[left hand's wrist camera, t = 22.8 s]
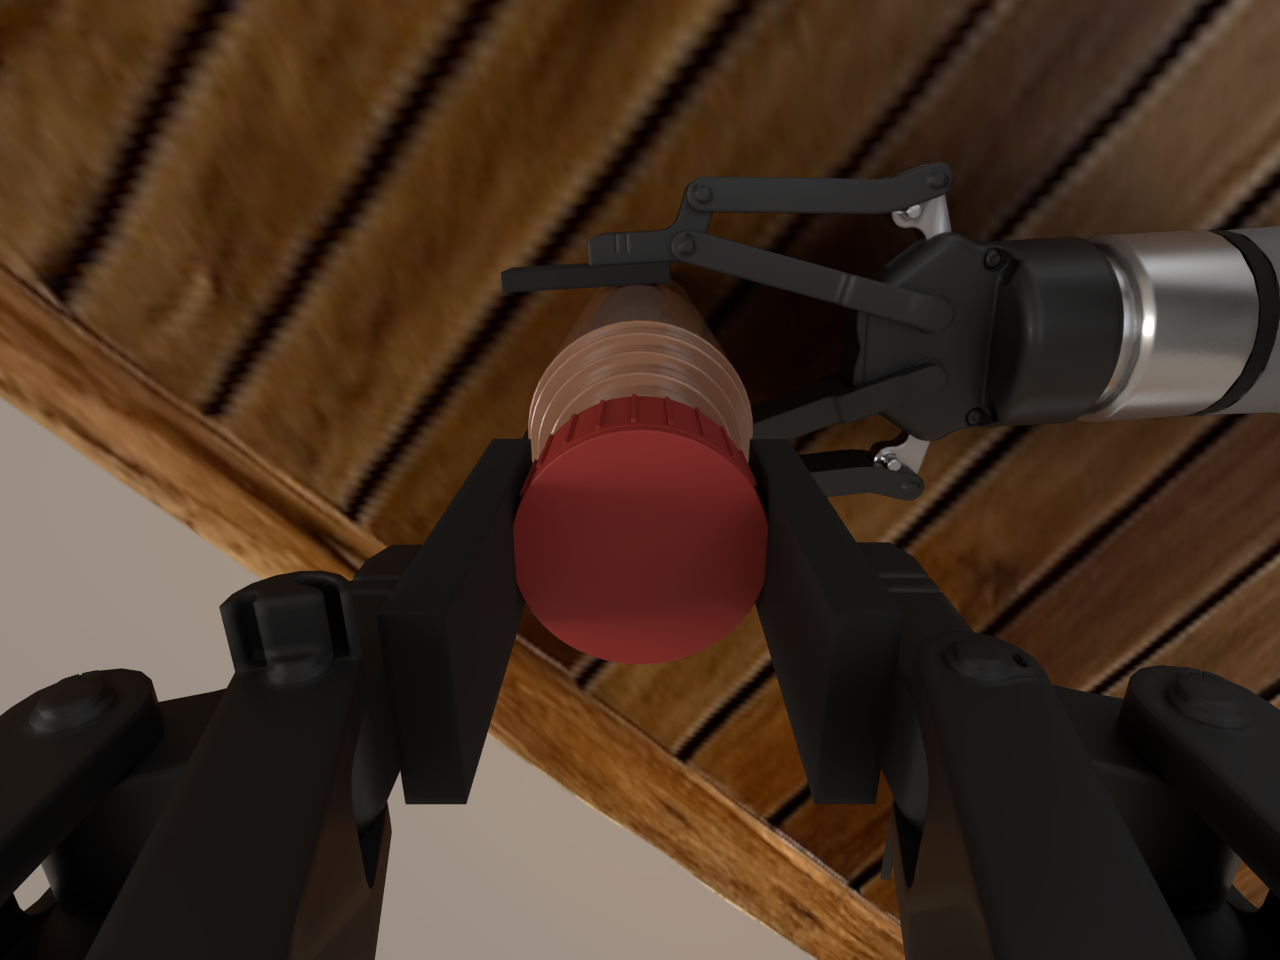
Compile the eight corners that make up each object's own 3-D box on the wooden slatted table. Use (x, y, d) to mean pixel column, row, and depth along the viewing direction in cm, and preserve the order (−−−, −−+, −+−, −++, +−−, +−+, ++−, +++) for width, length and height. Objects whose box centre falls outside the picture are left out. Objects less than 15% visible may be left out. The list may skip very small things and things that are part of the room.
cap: (684, 347, 13) (693, 374, 11) (792, 539, 14) (819, 597, 12) (483, 463, 14) (453, 511, 12) (603, 634, 15) (597, 705, 13)
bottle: (556, 334, 35) (406, 543, 13) (638, 243, 34) (634, 296, 11) (642, 413, 37) (645, 727, 14) (724, 329, 35) (875, 533, 13)
